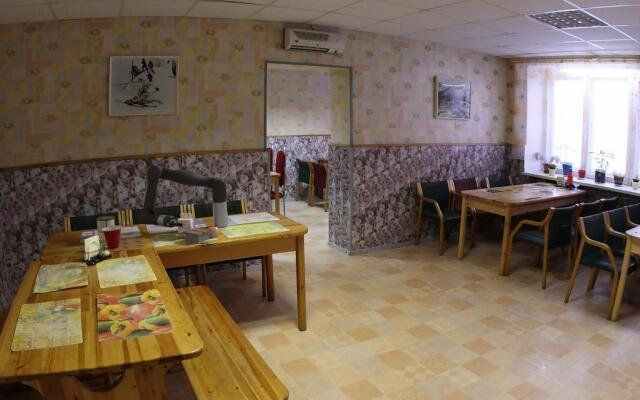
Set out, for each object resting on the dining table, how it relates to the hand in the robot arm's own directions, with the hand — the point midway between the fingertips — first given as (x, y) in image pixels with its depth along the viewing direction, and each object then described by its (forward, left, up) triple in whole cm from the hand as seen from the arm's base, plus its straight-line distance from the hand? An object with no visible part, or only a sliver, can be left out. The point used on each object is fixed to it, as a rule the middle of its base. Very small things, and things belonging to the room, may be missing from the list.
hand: (186, 223), depth 291 cm
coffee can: (+26, -40, -9) cm, 48 cm away
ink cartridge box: (0, -1, -9) cm, 9 cm away
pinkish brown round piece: (-7, +15, -9) cm, 19 cm away
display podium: (+4, +11, -9) cm, 14 cm away
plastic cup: (+37, -23, -9) cm, 44 cm away
